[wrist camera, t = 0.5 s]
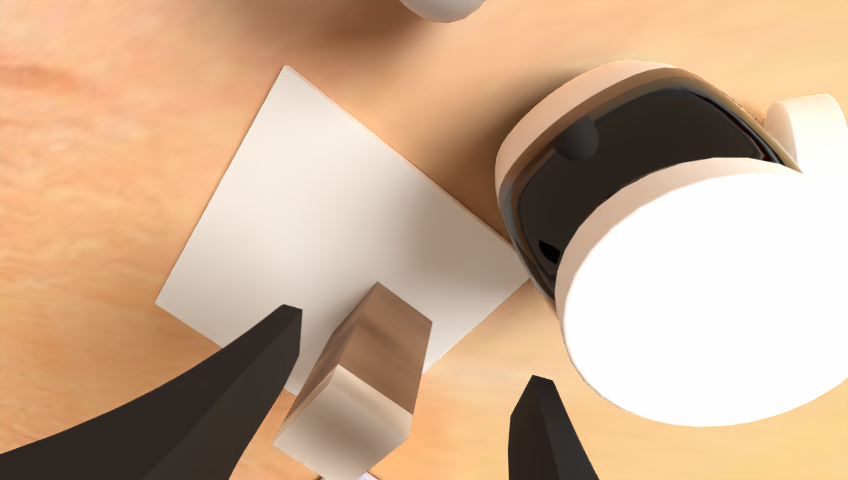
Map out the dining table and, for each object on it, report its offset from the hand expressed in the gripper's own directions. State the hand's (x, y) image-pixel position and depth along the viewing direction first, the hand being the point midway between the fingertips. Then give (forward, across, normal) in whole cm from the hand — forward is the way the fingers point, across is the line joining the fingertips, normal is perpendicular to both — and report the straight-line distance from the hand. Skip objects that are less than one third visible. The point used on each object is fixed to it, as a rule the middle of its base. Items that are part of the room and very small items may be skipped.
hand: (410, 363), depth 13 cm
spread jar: (+11, -8, -5) cm, 15 cm away
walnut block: (+9, +2, +8) cm, 12 cm away
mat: (+10, +6, +6) cm, 13 cm away
